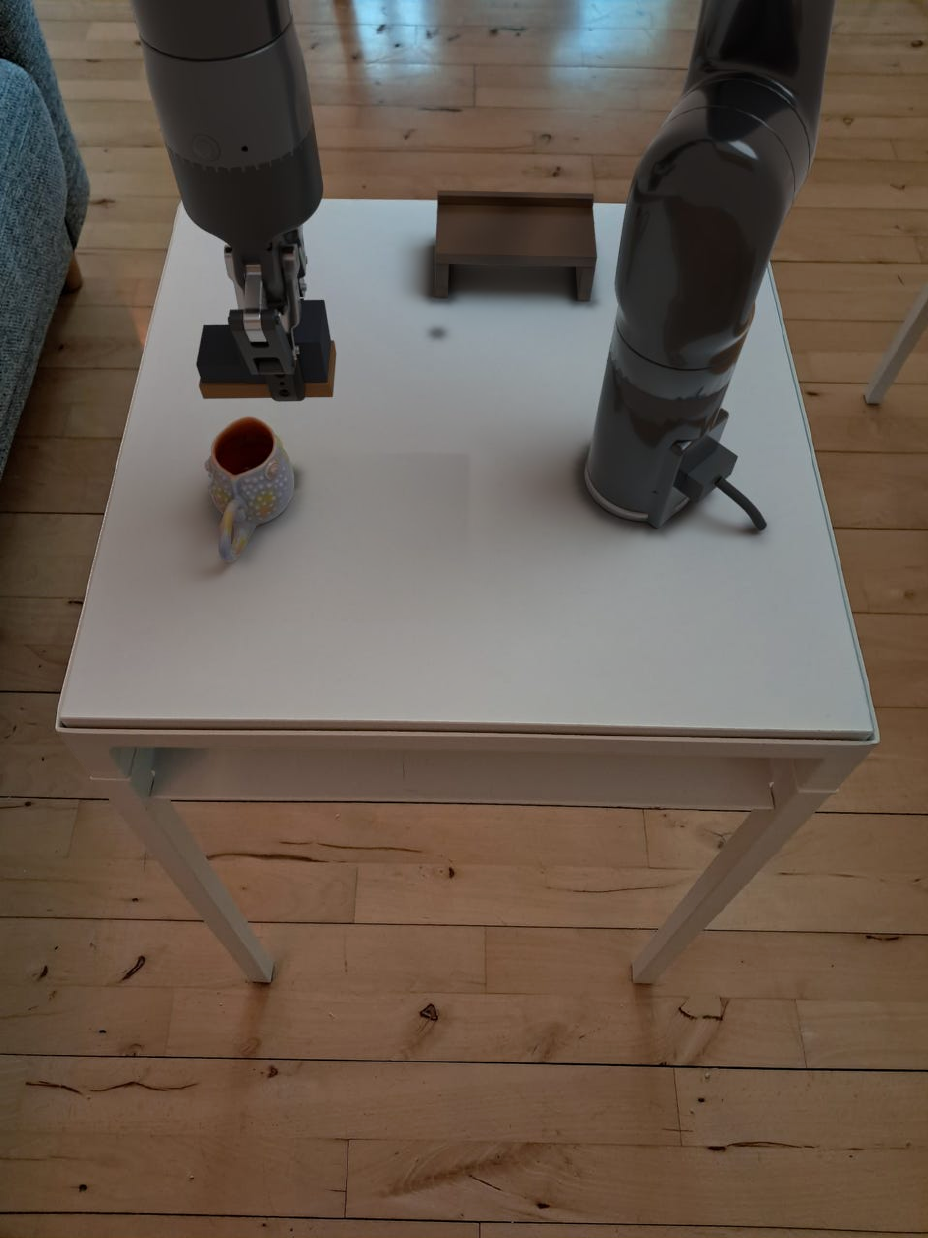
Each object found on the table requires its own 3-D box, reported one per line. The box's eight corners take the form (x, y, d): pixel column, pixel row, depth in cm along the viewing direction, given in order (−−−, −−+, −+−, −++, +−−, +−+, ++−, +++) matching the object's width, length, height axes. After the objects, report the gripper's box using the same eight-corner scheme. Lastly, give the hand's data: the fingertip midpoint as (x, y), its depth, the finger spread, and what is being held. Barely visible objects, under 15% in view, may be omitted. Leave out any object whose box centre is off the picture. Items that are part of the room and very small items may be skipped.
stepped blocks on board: (336, 353, 63) (327, 297, 59) (333, 397, 61) (323, 342, 57) (210, 355, 63) (193, 299, 59) (202, 399, 61) (184, 344, 57)
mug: (229, 459, 82) (213, 405, 76) (306, 470, 81) (295, 417, 75) (186, 573, 76) (164, 524, 70) (268, 586, 75) (254, 537, 69)
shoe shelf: (586, 247, 96) (594, 192, 91) (590, 300, 92) (598, 247, 87) (437, 244, 96) (437, 189, 91) (435, 297, 92) (434, 244, 87)
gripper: (301, 205, 43) (344, 454, 58) (321, 37, 50) (354, 296, 65) (137, 207, 43) (222, 455, 58) (181, 39, 50) (246, 297, 65)
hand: (292, 370), depth 61 cm, fingers closed on stepped blocks on board, 4 cm apart
